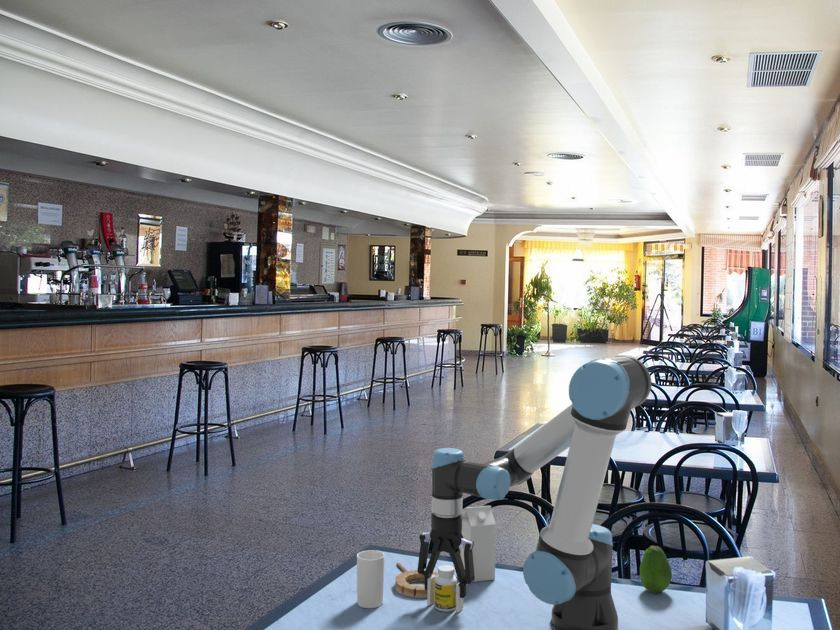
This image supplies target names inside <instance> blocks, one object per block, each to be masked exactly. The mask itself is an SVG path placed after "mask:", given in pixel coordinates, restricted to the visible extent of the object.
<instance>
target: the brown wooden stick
mask: <svg viewBox="0 0 840 630" xmlns="http://www.w3.org/2000/svg"><path fill="white" fill-rule="evenodd" d="M396 566H397V567H398V568H399V569H400V570H401V571H402V573H403V572H407V571H408V570H407V569H406V568H405V567H404V566H403V565H402V564H401V563H400V562H396Z"/></svg>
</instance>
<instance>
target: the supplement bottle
mask: <svg viewBox="0 0 840 630" xmlns="http://www.w3.org/2000/svg"><path fill="white" fill-rule="evenodd" d="M437 573H438V576H436V578H435V600H434V603H433V604H434V608H435V609H436V610H437V611H440V612H445V613H446V612H453V611H456V585H457V584H458V578H457V576H455V568H454V566H452V565H449V564H448V565H447V564H444V565H443V564H442V565H439V566H438V567H437Z"/></svg>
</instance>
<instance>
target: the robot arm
mask: <svg viewBox="0 0 840 630" xmlns="http://www.w3.org/2000/svg"><path fill="white" fill-rule="evenodd" d="M651 390H652V377H651V374H650V371H649V369H648V367H646V365H645V364H644V363H643V362H641V360H639V359H637V358H635V357H632V356H629V355H619V356H618V355H617V356H613V357H607V358H605V357H602V358H595V359H593V360H590V361H588V362H585V363H584V364H582V365H581V366H580V367H578V368H577V369H576V370H575V372H574V373H573V375H572V376H571V379H570V381H569V384H568V398H569V400H570V401H571V404H570V405H569V406H568V407H566V408H565V409H563V410H562V411H561V412H560V413H558V414H557V415H555V416H554V417H553V418H552V419H550V420H549V421H548V422H546V423H545V424H544V425H543V426H541V427H540V428H538V429H537V430H536V431H534V432H533V433H532V434H531V435H529V436H528V437H527V438H525V439H524V440H523V441H521V442H520V443H519V444H518V445H516V446H515V447H514V448H512V449H511V450H510V451H509V452H507V453H505V454H504V455H502V456H499V457H498V458H494V459H491V460H488V461H485V462H483V463H482V462H481V463H478V462H474V461H468V460H465V457H464V451H463V450H461V449H459V448H455V447H444V448H443V447H442V448H438V449H436V450H435V451H433V453H432V464H431V485H432V486H431V508H430V509H431V512H432V513H431V516H430V519H431V520H430V524H431V525H430V527H431V530H430V532H428V531H423V533H421V534H419V541H420V542H419V543H420V546H419V555H418V563H417V569H416V570H417V572H418V573H419V574H422V575H424V577H425V581H424V585H423V586H424V588H425V590H427V598H426V599H427V601H426V602H427V603H426V604H427V606H431V605H432V604H434V600H435V575H432V574H433V573H434V572H435V571H434V570H435V568H436V565H437V562H438V561H439V557H440V554H441V553H442V552H443V553H448V554H449V557H450V558H451V560H452V561H451V562H452V563H453V567H454V572H455V573H456V578H457V585H456V609H455V612H456V613H459V612H461V611H462V610H463V609H464V599H465V598H466V597H467V596H468V585H471V583H474V582H473V581H474V580H475V576H474V564H473V552H472V549H473V545H474V541H473V540H470V541H468V540H466V539H463V536H462V517H463V515H462V512H463V502H464V501H463V497H464V495H463V494H466V495H471V496H475V497H478V498H482V499H486V500H493V501H494V500H495V501H501V500H504V498H505V497H506V495H508V494H509V491H510V488H512V487H515V486H519V485H522V484H523V483H525V482H526V481H528V480H529V479H530V478H531V477H532V476H533V474H534V473H536V472H537V471H538V470H540V469H541V468H542V467H544V466H545V465H546V464H549V462H550V461H552V460H553V459H556V457H558V456H559V455H561V454H562V453H563V452H565V451H566V450H567V449H568V451H567V456H566V460H565V464H564V467H563V471H562V475H561V479H560V484H559V487H558V491H557V494H556V495H557V496H556V498H555V502H554V506H553V511H552V514H551V518H550V522H549V525H547V526H545V527H543V528H541V530H540V531H539V536H538V540H537V545H536V546H535V547H536V548H535V550H534V551H533V552H531V553H530V554H529V555H528V557H526V559H525V561H524V563H523V568H522V572H523V573H522V574H523V578H524V582H525V584H526V585H527V587H528V589H529V591H530V592H531V594H532V595H533V596H535V598H537V599H538V600H539V601H541V602H543V603H545V604H547V605H553V606H552V608H551V609H552V610H551V623H552V625H553V626H554V627H555V628H556V629H558V630H619V629H618V628H619V616H618V613H617V609H616V606H615V602H614V599H613V596H612V575H613V574H612V569H613V568H612V567H613V546H614V544H613V534H612V532H611V530H609V528H606V527H605V526H602V525H599V524H594V520H595V516H596V512H597V509H598V505H599V501H600V498H601V497H600V496H601V494H602V488H603V486H604V483H605V482H604V481H605V478H606V474H607V471H608V466H609V463H610V460H611V455H612V452H613V448H614V445H615V441H616V437H617V436H618V435H619V434H621V433H623V432H625V431H626V429H627V426H628V422H629V418H630V414H631V411H632V409H634V408H637V407H638V406H640V405H641V404H643V403H645V401H646V400H647V399H648V398H649V396H650V393H651ZM430 541H432V543H433V547H432V550H431V554H430V557H429V548H430ZM461 544H462V545H463V549H464V563H465V569H464V565H463V562H462V559H461V549H460V547H461ZM428 557H429V560H428Z"/></svg>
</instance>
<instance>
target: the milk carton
mask: <svg viewBox="0 0 840 630" xmlns="http://www.w3.org/2000/svg"><path fill="white" fill-rule="evenodd" d="M496 531H497V524H496V521H495V518H494V514H493V511H492V505H483V506H482V505H481V506H470V507H468V506H467V507H466V508H465V513H464V514H463V515H462V536H463V539H466V540H468V541H470V540H473V541H474V545H473V549H472V552H473V564H474V576H475V580H474V581H473V582H472V583H474V582H476V583H477V582H484V581H493V580H495V579H496V543H497V541H496V538H497V537H496V535H497V533H496ZM460 548H461V549H460V555H461V559H462V562H463V565H464V569H465V563H464V549H463V545H462V544H460Z"/></svg>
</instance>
